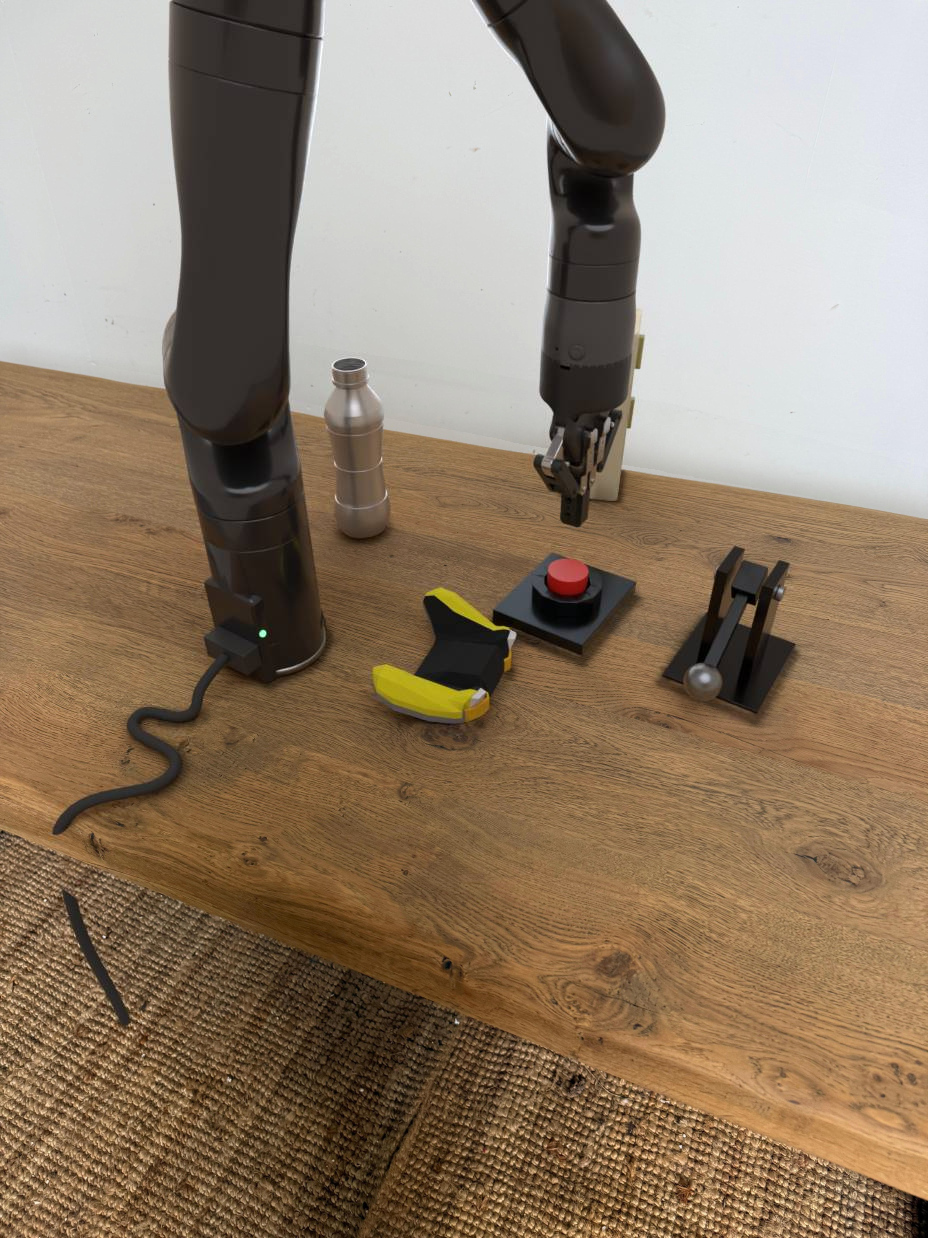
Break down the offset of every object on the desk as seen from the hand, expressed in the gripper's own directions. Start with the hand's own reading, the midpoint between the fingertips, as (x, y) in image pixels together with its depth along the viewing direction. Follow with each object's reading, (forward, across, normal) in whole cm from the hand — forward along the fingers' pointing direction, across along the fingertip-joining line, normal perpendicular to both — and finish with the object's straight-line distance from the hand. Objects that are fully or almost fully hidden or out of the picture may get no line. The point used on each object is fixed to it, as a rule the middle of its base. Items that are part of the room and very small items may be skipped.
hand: (573, 521), depth 82 cm
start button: (+7, 0, 0) cm, 7 cm away
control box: (+11, 0, 0) cm, 11 cm away
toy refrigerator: (+11, -25, -9) cm, 29 cm away
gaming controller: (+11, +15, -4) cm, 19 cm away
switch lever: (+5, +3, +17) cm, 18 cm away
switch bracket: (+11, -1, +17) cm, 20 cm away
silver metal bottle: (+11, -1, -27) cm, 29 cm away
